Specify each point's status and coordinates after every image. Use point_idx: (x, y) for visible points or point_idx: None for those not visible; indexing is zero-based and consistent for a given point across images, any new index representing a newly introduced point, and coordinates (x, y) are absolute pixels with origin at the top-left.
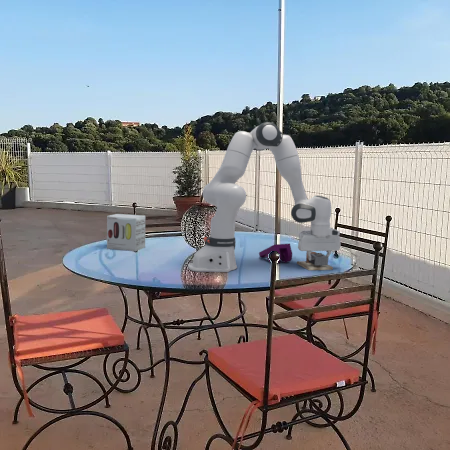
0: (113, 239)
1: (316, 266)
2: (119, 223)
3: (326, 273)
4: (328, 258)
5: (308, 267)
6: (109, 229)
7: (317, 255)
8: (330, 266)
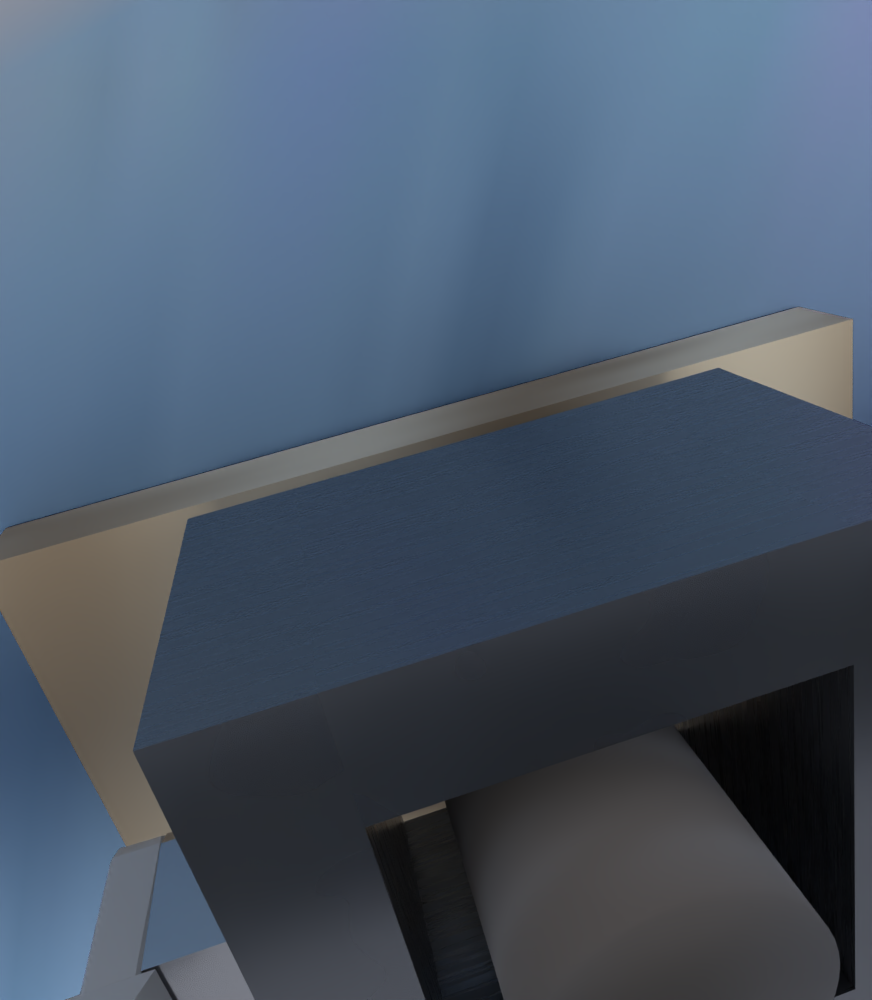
0: None
1: None
2: None
3: None
4: (102, 896)
5: (850, 367)
6: None
7: (750, 830)
8: (64, 648)
